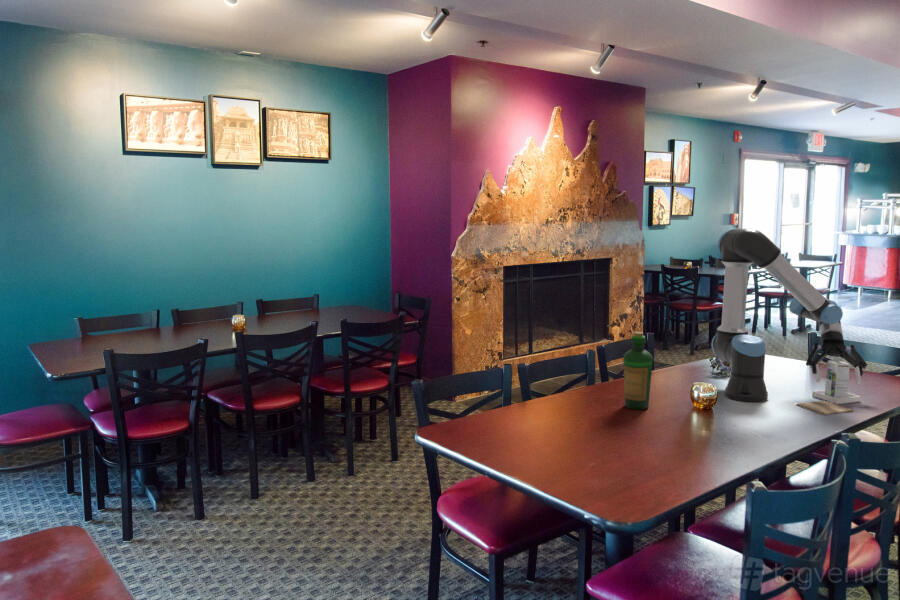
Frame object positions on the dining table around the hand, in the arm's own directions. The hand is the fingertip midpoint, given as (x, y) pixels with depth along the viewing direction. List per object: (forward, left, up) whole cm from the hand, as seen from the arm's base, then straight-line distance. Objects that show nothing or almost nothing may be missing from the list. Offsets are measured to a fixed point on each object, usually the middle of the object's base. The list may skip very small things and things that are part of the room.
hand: (838, 382), depth 241 cm
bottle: (-76, +17, -7) cm, 78 cm away
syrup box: (+1, +2, -7) cm, 8 cm away
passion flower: (-14, +48, -7) cm, 50 cm away
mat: (-13, -6, -7) cm, 16 cm away
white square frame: (+1, +2, -7) cm, 7 cm away
